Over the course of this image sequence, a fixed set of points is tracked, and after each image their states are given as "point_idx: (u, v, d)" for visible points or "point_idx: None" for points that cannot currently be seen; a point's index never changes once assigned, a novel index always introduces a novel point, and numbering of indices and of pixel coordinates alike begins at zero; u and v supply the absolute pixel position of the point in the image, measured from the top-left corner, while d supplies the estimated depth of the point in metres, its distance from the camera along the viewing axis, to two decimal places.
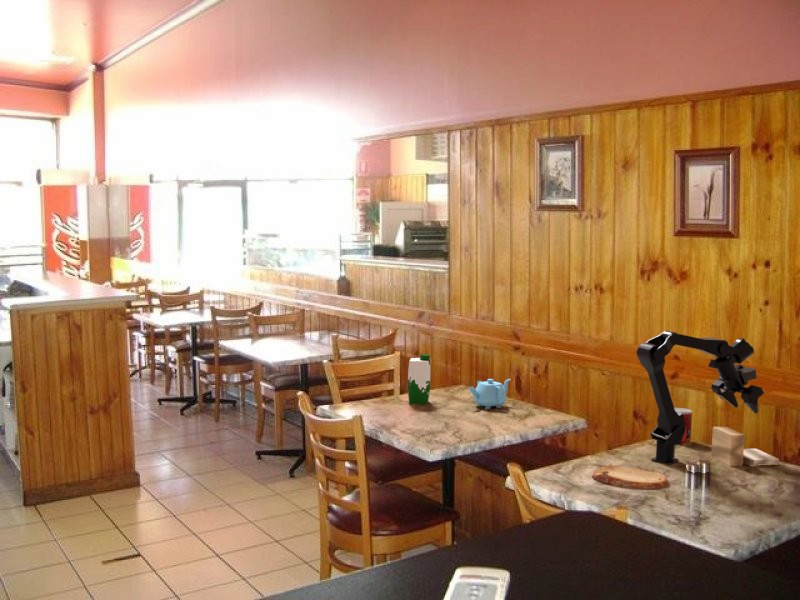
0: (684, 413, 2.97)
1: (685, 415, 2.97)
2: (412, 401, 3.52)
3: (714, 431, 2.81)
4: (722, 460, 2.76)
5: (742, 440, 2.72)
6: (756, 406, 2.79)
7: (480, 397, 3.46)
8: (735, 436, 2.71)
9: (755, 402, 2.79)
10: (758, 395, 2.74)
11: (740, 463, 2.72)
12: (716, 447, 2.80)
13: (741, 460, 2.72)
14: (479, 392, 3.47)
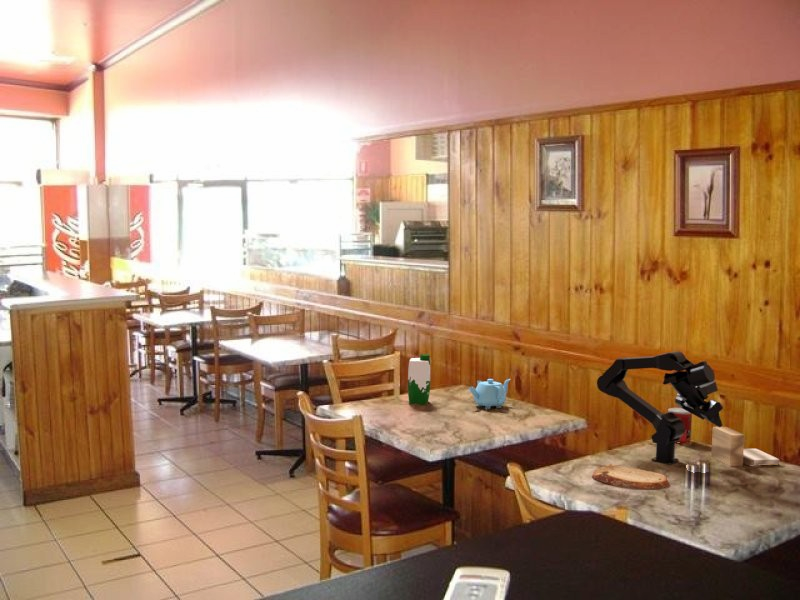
0: (684, 413, 2.97)
1: (685, 415, 2.97)
2: (412, 401, 3.52)
3: (714, 431, 2.80)
4: (722, 460, 2.76)
5: (742, 440, 2.72)
6: (719, 420, 2.69)
7: (480, 397, 3.46)
8: (735, 436, 2.71)
9: (717, 416, 2.69)
10: (716, 411, 2.64)
11: (740, 463, 2.72)
12: (716, 447, 2.80)
13: (741, 460, 2.72)
14: (479, 392, 3.47)
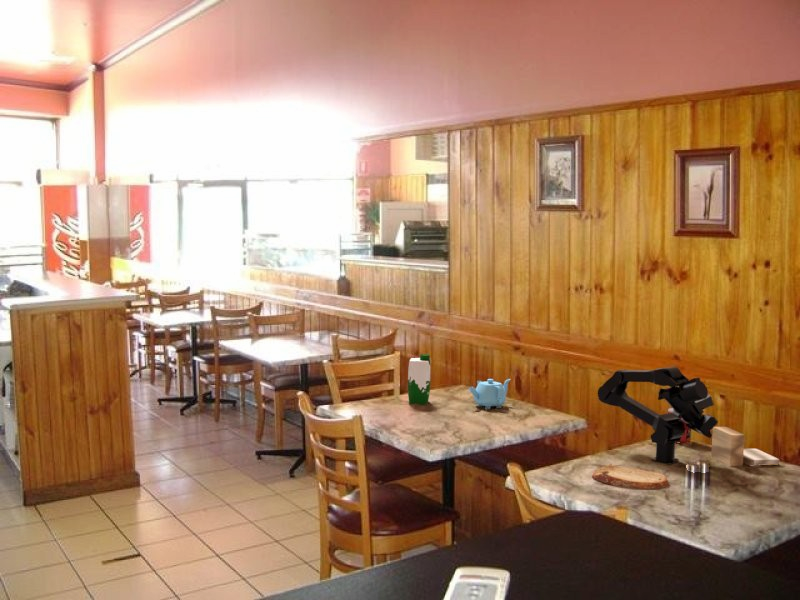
0: None
1: None
2: (412, 401, 3.52)
3: (714, 431, 2.80)
4: (722, 460, 2.76)
5: (742, 440, 2.72)
6: None
7: (480, 397, 3.46)
8: (735, 436, 2.71)
9: None
10: (711, 426, 2.65)
11: (740, 463, 2.72)
12: (716, 447, 2.80)
13: (741, 460, 2.72)
14: (479, 392, 3.47)
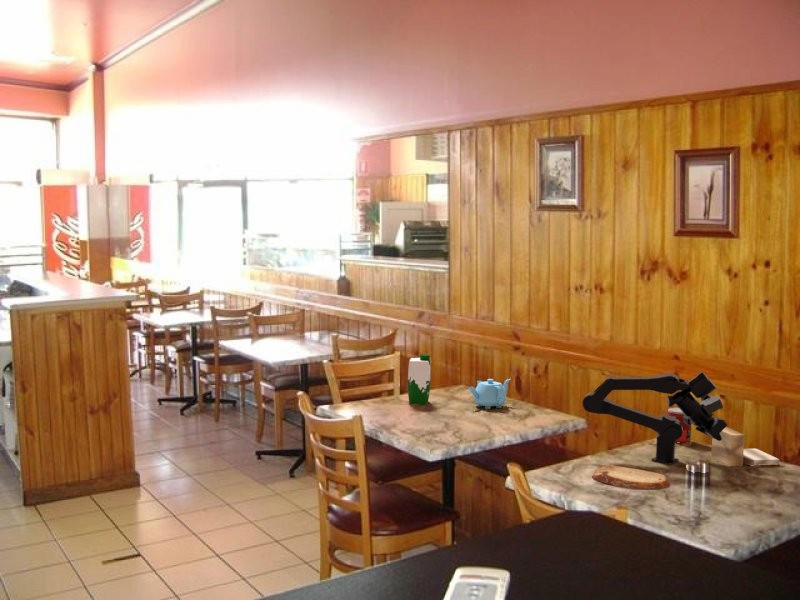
0: None
1: None
2: (412, 401, 3.52)
3: None
4: (722, 460, 2.76)
5: (742, 440, 2.72)
6: (717, 434, 2.74)
7: (480, 397, 3.46)
8: (735, 436, 2.71)
9: None
10: (720, 429, 2.65)
11: (740, 463, 2.72)
12: (716, 447, 2.80)
13: (741, 460, 2.72)
14: (479, 392, 3.47)
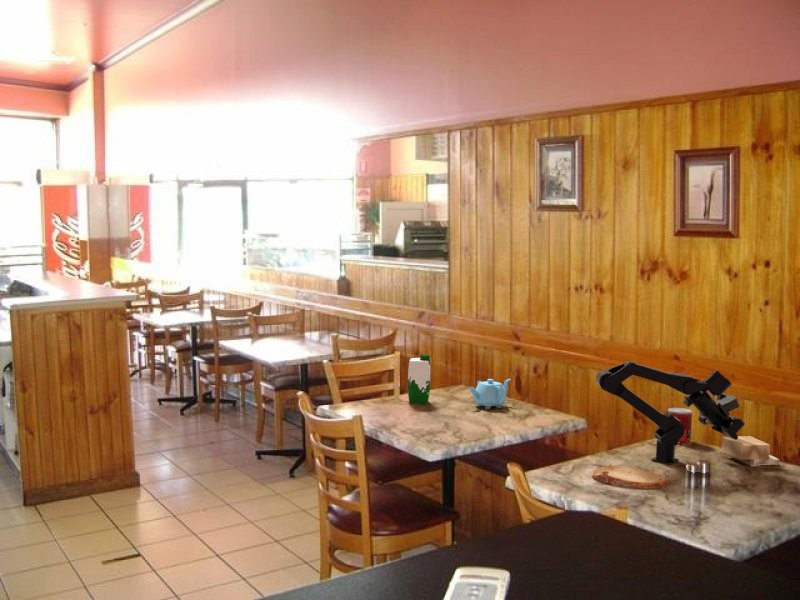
0: (684, 413, 2.97)
1: (685, 415, 2.97)
2: (412, 401, 3.52)
3: (748, 437, 2.83)
4: (735, 442, 2.76)
5: (764, 457, 2.73)
6: None
7: (480, 397, 3.46)
8: (768, 449, 2.73)
9: None
10: (738, 428, 2.67)
11: (742, 457, 2.72)
12: None
13: (745, 457, 2.72)
14: (479, 392, 3.47)
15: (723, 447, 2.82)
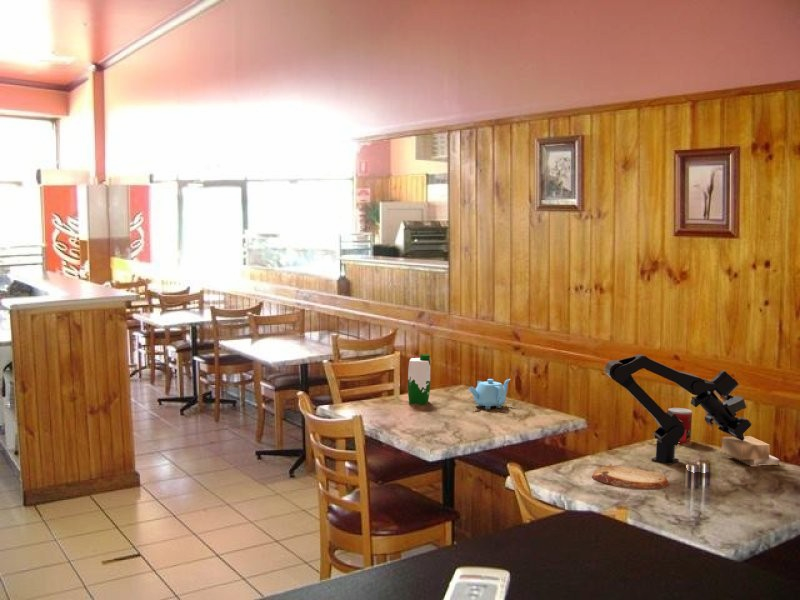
0: (684, 413, 2.97)
1: (685, 415, 2.97)
2: (412, 401, 3.52)
3: (748, 437, 2.83)
4: (735, 442, 2.76)
5: (764, 457, 2.73)
6: None
7: (480, 397, 3.46)
8: (768, 449, 2.73)
9: None
10: (745, 428, 2.67)
11: (742, 457, 2.72)
12: None
13: (745, 457, 2.72)
14: (479, 392, 3.47)
15: (723, 447, 2.82)
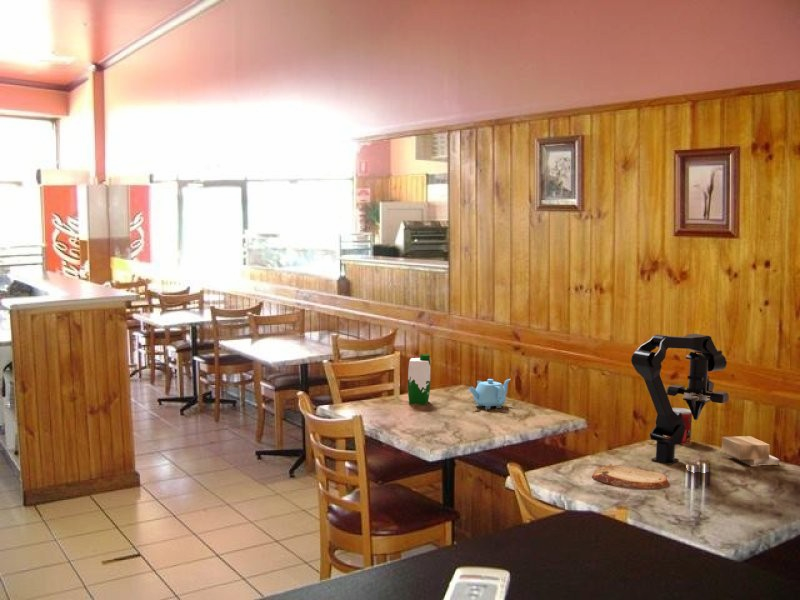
0: (684, 413, 2.97)
1: (685, 415, 2.97)
2: (412, 401, 3.52)
3: (748, 437, 2.83)
4: (735, 442, 2.76)
5: (764, 457, 2.73)
6: (700, 412, 2.81)
7: (480, 397, 3.46)
8: (768, 449, 2.73)
9: (701, 407, 2.81)
10: (726, 399, 2.75)
11: (742, 457, 2.72)
12: (737, 438, 2.81)
13: (745, 457, 2.72)
14: (479, 392, 3.47)
15: (723, 447, 2.82)
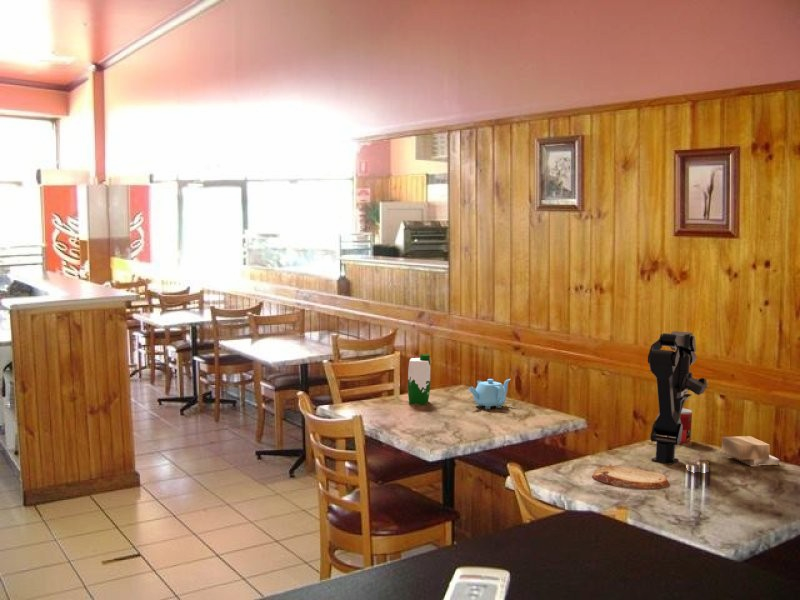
0: (684, 413, 2.97)
1: (685, 415, 2.97)
2: (412, 401, 3.52)
3: (748, 437, 2.83)
4: (735, 442, 2.76)
5: (764, 457, 2.73)
6: (677, 408, 2.87)
7: (480, 397, 3.46)
8: (768, 449, 2.73)
9: (678, 403, 2.86)
10: None
11: (742, 457, 2.72)
12: (737, 438, 2.81)
13: (745, 457, 2.72)
14: (479, 392, 3.47)
15: (723, 447, 2.82)
